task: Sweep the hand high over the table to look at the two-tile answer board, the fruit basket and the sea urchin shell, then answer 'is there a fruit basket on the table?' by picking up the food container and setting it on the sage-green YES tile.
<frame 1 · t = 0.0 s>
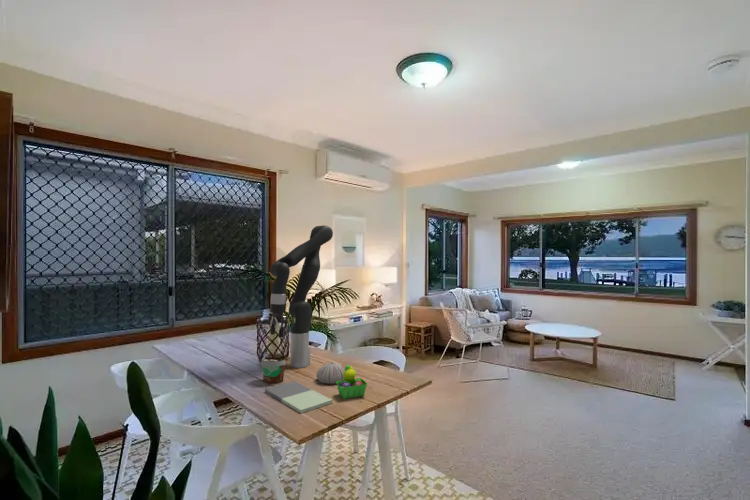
hand: (276, 335, 179), 17 cm above the table, tool pointing down, fingers open, 8 cm apart
sea urchin shell: (331, 381, 166), on the table
food container: (270, 382, 163), on the table
answer board: (297, 397, 146), on the table
fruit basket: (351, 395, 149), on the table
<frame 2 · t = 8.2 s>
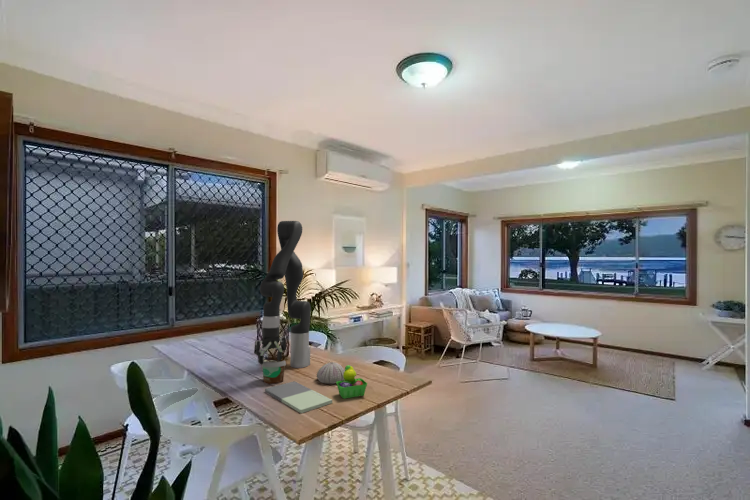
hand: (270, 362, 162), 9 cm above the table, tool pointing down, fingers open, 8 cm apart
food container: (270, 383, 163), on the table, touching gripper
everything else where it was.
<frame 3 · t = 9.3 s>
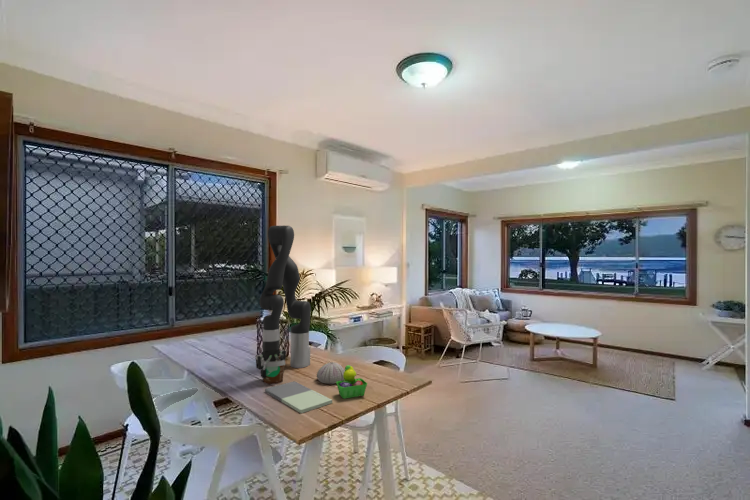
hand: (270, 375, 163), 3 cm above the table, tool pointing down, fingers closed on food container, 6 cm apart
food container: (269, 382, 163), on the table, touching gripper
everything else where it was.
when the fingers open (5 cm above the table, at t = 16.8 s): food container stays where it is, resting on answer board.
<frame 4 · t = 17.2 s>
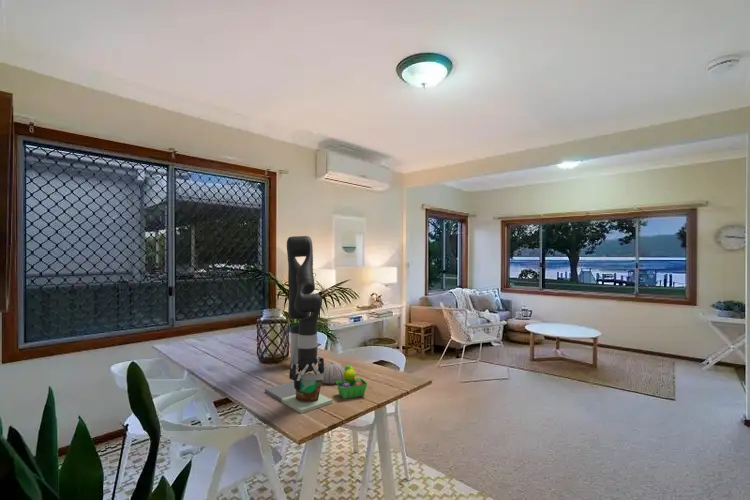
hand: (306, 387, 141), 6 cm above the table, tool pointing down, fingers open, 8 cm apart
food container: (303, 400, 139), point 1 cm above the table, touching answer board, gripper
everything else where it was.
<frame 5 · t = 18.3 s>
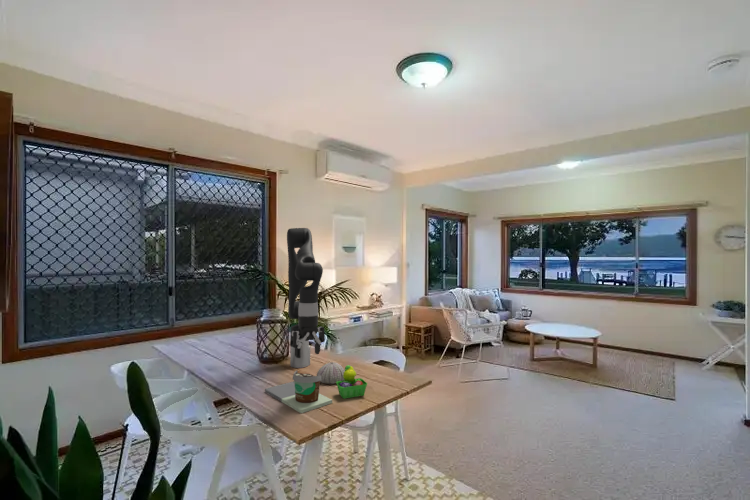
hand: (307, 355, 141), 18 cm above the table, tool pointing down, fingers open, 8 cm apart
food container: (303, 401, 139), point 1 cm above the table, touching answer board
everything else where it was.
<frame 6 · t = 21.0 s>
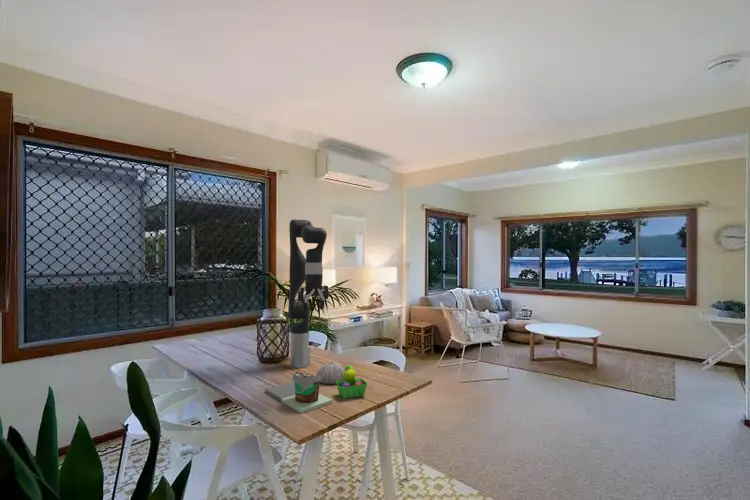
hand: (313, 310, 158), 33 cm above the table, tool pointing down, fingers open, 8 cm apart
nothing on the table moved.
at the end: food container inside the target area (1.9 cm from its centre), point 1.0 cm above the table; food container tilted 0°; the gripper is holding nothing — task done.
